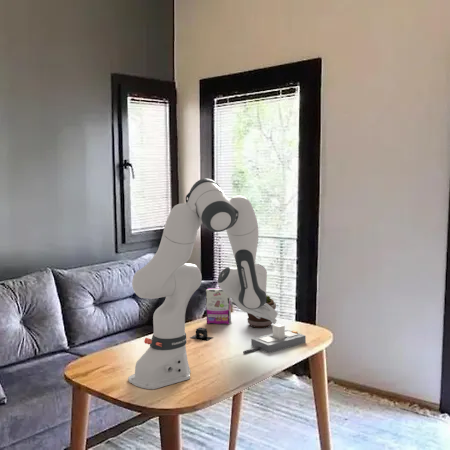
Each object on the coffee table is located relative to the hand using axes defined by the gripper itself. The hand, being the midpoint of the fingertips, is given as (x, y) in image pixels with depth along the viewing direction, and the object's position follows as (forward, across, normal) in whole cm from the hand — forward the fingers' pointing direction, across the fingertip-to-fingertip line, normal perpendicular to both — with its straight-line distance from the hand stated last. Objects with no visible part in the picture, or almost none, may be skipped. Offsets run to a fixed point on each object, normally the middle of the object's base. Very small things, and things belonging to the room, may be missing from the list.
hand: (267, 319), depth 211 cm
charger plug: (+13, +1, +4) cm, 14 cm away
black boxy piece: (-1, +28, +18) cm, 34 cm away
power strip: (+10, +1, +7) cm, 12 cm away
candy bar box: (+12, +43, +5) cm, 45 cm away
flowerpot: (+21, +28, -4) cm, 35 cm away
